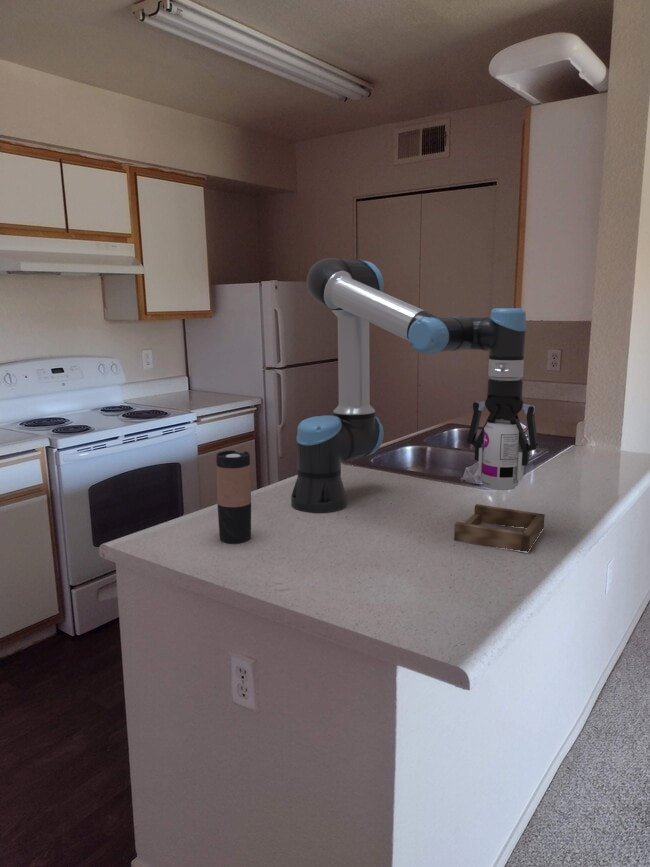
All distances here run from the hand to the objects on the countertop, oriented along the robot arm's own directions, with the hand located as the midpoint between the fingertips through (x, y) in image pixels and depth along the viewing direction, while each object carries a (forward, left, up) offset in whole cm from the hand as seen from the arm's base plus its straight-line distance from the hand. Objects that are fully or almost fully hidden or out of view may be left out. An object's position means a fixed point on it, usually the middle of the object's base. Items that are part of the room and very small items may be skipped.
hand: (500, 476), depth 149 cm
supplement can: (0, 0, -2) cm, 2 cm away
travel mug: (-52, -32, -14) cm, 63 cm away
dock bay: (+1, 0, -14) cm, 14 cm away
